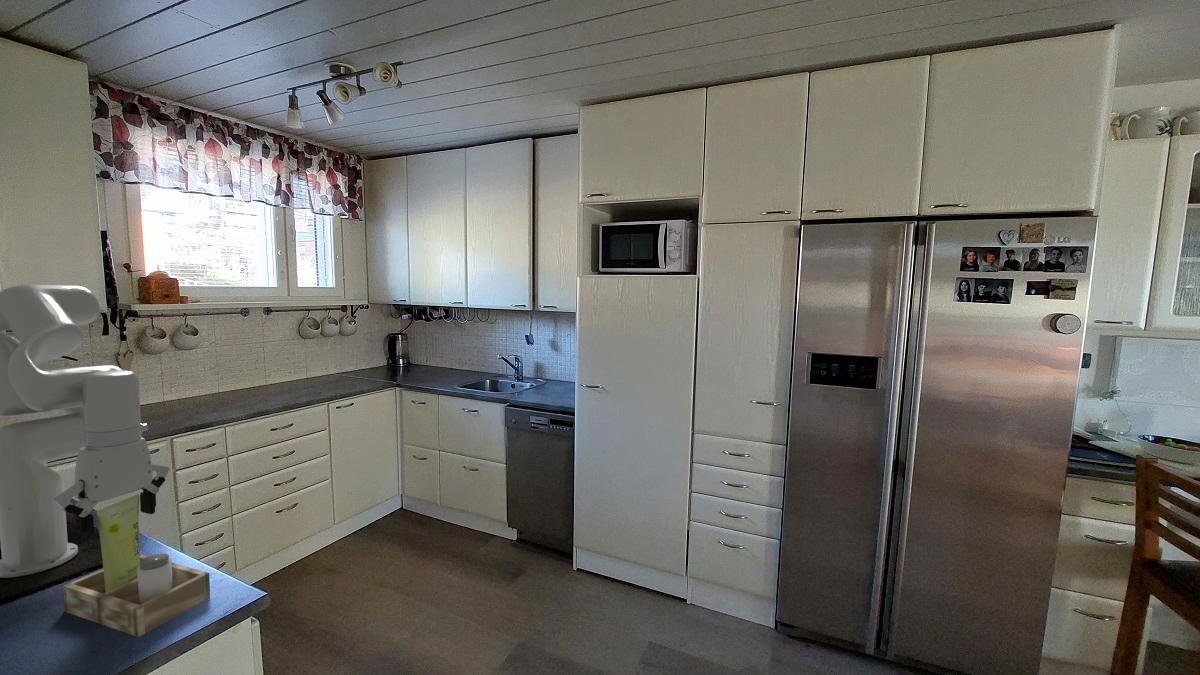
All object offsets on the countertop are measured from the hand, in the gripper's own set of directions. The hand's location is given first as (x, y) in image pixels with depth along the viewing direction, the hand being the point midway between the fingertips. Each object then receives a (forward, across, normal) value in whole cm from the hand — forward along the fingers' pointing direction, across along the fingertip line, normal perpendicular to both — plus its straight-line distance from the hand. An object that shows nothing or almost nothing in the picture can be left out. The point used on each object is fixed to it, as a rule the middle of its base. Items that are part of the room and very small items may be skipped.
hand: (118, 523), depth 94 cm
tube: (+16, 0, 0) cm, 16 cm away
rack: (+16, 0, +5) cm, 17 cm away
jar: (+15, 0, +10) cm, 18 cm away
